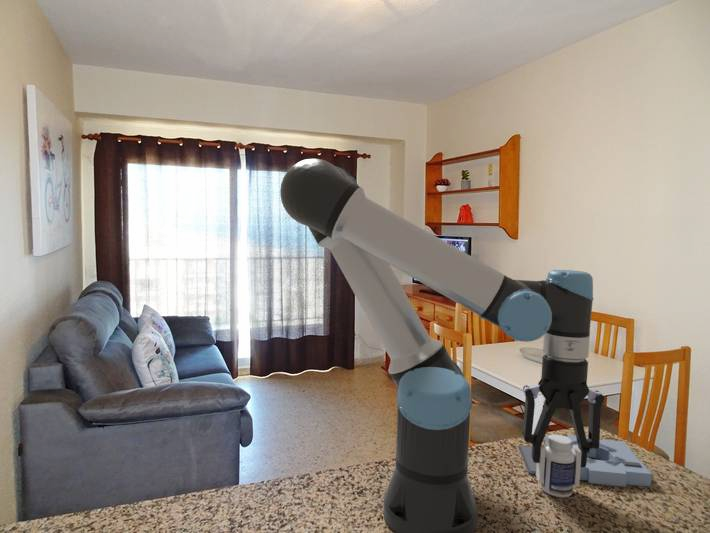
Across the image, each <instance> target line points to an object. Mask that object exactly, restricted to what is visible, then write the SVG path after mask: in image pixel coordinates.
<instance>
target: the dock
mask: <svg viewBox="0 0 710 533" xmlns="http://www.w3.org/2000/svg"><path fill="white" fill-rule="evenodd" d="M550 435H551V434H545V438H544V440H545V442H544V443H545V444H544V446H545V447H547V446H548V437H549V436H550ZM564 436H565V435H564ZM565 437H568V438H569V439H571V441H572V447H571V451H573V445H577V446H578V443H577V439H576V434H574V435H573V434H567V435H566V436H565ZM586 439H588V436H586ZM592 458H593V459H592ZM652 479H653V473H652V472H651V471H650V470H649V468H648V467H646V465H645V464H644V463H643V462H642V461H641V459H639V458H638V456H637V455H636V454H635V453H634V451H633V450H632V449H631V448H630V447H629V446H628V445H627V444H626V443H625V441H622V440H621V441H620V440H610V439H600V444H599V448H598V449H594V448H592V449H590V451H589V453H587V463H586V467H581V468H580V481H587V482H588V484H595V485H604V486H605V485H606V486H613V487H614V486H616V487H625V488H626V486H628V485H630V486H631V485H632V486H640V487H641V486H642V487H648V488H651V487H652Z"/></svg>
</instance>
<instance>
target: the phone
mask: <svg viewBox="0 0 710 533" xmlns="http://www.w3.org/2000/svg"><path fill="white" fill-rule="evenodd" d="M517 447H518V451H519V453H520V455H521V458H522V461H523V463H524V464H523V465H525V469H526V471H527V474H528V475H529V476H536V468H537V463H534V461H533V459H532V445H531V446H529V445H522V444H521V445H517Z"/></svg>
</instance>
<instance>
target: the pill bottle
mask: <svg viewBox="0 0 710 533" xmlns="http://www.w3.org/2000/svg"><path fill="white" fill-rule="evenodd" d="M549 435H550V436H549V437H548V446H547V447H546V446H545V448H546V450H545V466H544V482H543V483H540V484H541V485H540V486H541V489H542V490H543V491H544V492H545V493H546V494H548V495H550V496H553V497H556V498H568V497H570V496H572V494H573V490H574V489H573V488H574V484H573V479H574V464H575V455H574V453H573V452H572V451H571V447H572V441H571V439H569V438H568V437H567V436H566V437H565V435H561V434H549Z"/></svg>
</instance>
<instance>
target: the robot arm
mask: <svg viewBox="0 0 710 533" xmlns="http://www.w3.org/2000/svg"><path fill="white" fill-rule="evenodd" d="M279 192H280V194H279V195H280V200H281V204H282V206H283V209H284V210H285V211H286V213H287V215H289V217H290V218H291V219H293V220H294V221H296V222H297V223H299V224H301V225H303V226H305V227H308V229H309V231H310V233H311V234H312V237H313V238H314V240H315V242H316V243H317V245H318V246H319V247H322V248H325V249H328V251H330V252H331V254H332V256H333V257H334V260H335V261H336V263H337V265H338V266H339V267H338V268H339V269H340V270H341V272H342V274H343V276H344V277H345V279H346V281H347V283H348V285H349V287H350V288H351V291H352V292H353V294H354V296H355V297H356V299H357V301H358V303H359V304H360V306H361V308H362V310H363V312H364V313H365V315H366V317H367V319H368V321H369V323H370V324H371V326H372V328H373V330H374V332H375V334H376V335H377V337H378V339H379V341H380V343H381V345H382V346H383V348H384V349H385V351H386V353H387V355H388V356H389V358H390V362H389V367H388V374H389V375H390V377H391V379H392V381H393V382H394V384H395V387H396V388H397V391H396V403H397V409H396V410H397V414H396V415H397V416H396V438H395V439H396V442H395V444H396V445H395V466H394V470H393V473H392V476H391V479H390V481H389V484H388V486H387V489H386V491H385V494H384V497H383V509H382V515H383V518H384V521H385V523H386V525H387V526H388V527H389V528H390V529H391V530H392V531H393V532H394V533H474V532H475V530H476V528H477V518H478V516H477V513H478V512H477V511H478V510H477V505H476V503H475V502H476V501H475V498H474V494H473V490H472V487H471V483H470V480H469V476H468V470H469V469H468V465H469V450H470V449H469V447H470V444H469V443H470V425H471V410H472V407H473V397H472V391H471V390H472V389H471V386H470V383H469V381H468V380H467V379H466V377H465V375H464V373H463V370H462V369H461V367H460V366H459V365H458V364H457V363H456V362H455V361H454V360H453V358H451V356H450V354H449V352H448V350H447V348H446V347H445V345H444V343H443V342H442V341H441V340H438V339H435V338H433V337H431V336H430V335H429V333H428V331H427V329H426V327H425V325H424V324H423V322H422V321H421V318H420V316H419V315H418V312H416V310H415V308H414V306H413V304H412V302H411V300H410V299H409V297H408V295H407V294H406V291H405V290H404V288H403V286H402V284H401V282H400V281H399V279H398V277H397V276H396V273H395V271H394V270H393V268H395V269H397V270H399V271H401V272H402V273H403V274H405V275H408V276H409V277H411V278H413V279H414V280H417V281H418V282H419V283H421V284H423V285H424V286H427V287H429V288H431V289H432V290H433V291H435V292H437V293H439V294H441V295H443V296H444V297H446V298H448V299H450V300H451V301H452V302H455V303H457V304H458V305H460V306H462V307H463V308H465V309H467V310H469V311H471V312H472V313H475V314H476V315H477V316H478V317H479V319H481V320H486V321H488V322H489V323H491V324H493V325H495V326H496V327H498V328H499V329H501V331H502V332H503V333H504V334H505V335H507V336H508V337H510V338H511V339H513V340H516V341H519V342H524V343H528V342H534V341H537V340H539V339H540V338H542V337H543V346H542V348H543V349H542V352H543V354H544V355H543V356H542V358H541V360H542V362H541V375H540V377H541V378H540V380H539V381H538V384H536V385H532V386H528V385H524V386H523V387H522V388H523V389H522V391H523V393H524V397H525V402H524V410H523V421H522V431H521V434H522V437H523V440H524V442H525V443H527V444H531V446H532V459H533V461H534V463H537V468H536V475H535V476H536V478H537V482H538V483H540V484H541V483H543V482H544V466H545V450H546V448H545V447H546V446H545V444H544V443H543V442H544V440H545V438H546V435H547V434H546V433H547V431H548V428H549V425H550V424H551V421H552V418H553V415H554V414H555V413H556V410H559V409H566V410H569V412H570V417H571V421H572V425H573V429H574V430H573V431H574V433H575V434H574V435H575V436H576V439H577V443H578V446H577V445H573V451H572V452H573V453H574V455H575V464H574V479H573V487H575V488H576V487H577V488H580V483H581V482H580V481H581V480H580V468H581V467H586V463H587V453H589V451H590V449H592V448H594V449H598V448H599V444H600V440H601V435H600V434H601V411H602V410H601V409H602V406H603V405H604V401H605V396H604V395H603V394H602V393H601V392H600V391H599V390H593V389H590V388H589V386H588V383H587V382H588V371H589V361H588V360H587V358H589V355H590V354H589V352H590V351H589V350H590V337H591V336H590V334H591V324H592V323H591V321H592V310H593V303H594V297H593V296H594V279H593V276H592V275H591V273H589V272H587V271H581V270H571V269H551V270H549V271H548V272H547V275H546V276H547V277H546V278H545V280H543V279H542V280H525V279H524V280H523V279H513V278H511V277H508V276H507V275H506V274H503V273H501V272H500V271H498V270H496V269H495V268H493V267H491V266H489V265H487V264H486V263H484V262H482V261H480V260H479V259H477V258H475V257H473V255H472V256H471V255H470V254H468V253H466V252H464V251H463V250H461V249H459V248H457V247H455V246H454V245H452V244H450V243H448V242H446V241H445V240H443V239H442V238H439V237H437V236H436V235H434V234H432V233H431V232H428V231H426V230H425V229H423V228H422V227H420V226H418V225H417V224H414V223H413V222H411V221H410V220H407V219H406V218H404V217H402V216H400V215H398V214H397V213H395V212H393V211H391V210H390V209H387V208H386V207H385V206H382V205H381V204H379V203H377V202H376V201H373V200H372V199H370V198H368V197H367V196H366V194H365V190H364V188H363V187H361V186H359V184H358V182H357V181H356V179H355V177H353V176H352V175H351V174H350V173H349V172H348V171H346V170H345V169H343V168H342V167H339V166H335V164H333V163H331V162H329V161H327V160H325V159H320V158H307V159H303V160H300V161H298V162H297V163H295V164H294V165H292V166H291V167H290V168H289V169H288V170H287V171H286V173H285V174H284V176H283V178H282V180H281V184H280V191H279ZM392 267H393V268H392ZM539 393H541V394H542V396H543V398H544V401H543V406H542V409H541V413H540V416H539V418H538V419H537V420H538V421H537V423H536V426H535V428H534V430H533V427H534V415H535V407H536V402H535V399H537V398H538V395H539ZM585 398H587V400H588V425H587V426H588V428H587V429H588V430H587V431H588V432H587V434H588V435H587V436H586V431H585V427H584V423H583V420H582V419H583V418H582V412H581V408H580V404H581V403H583V402H582V401H583V400H584V399H585ZM533 431H534V432H533ZM586 437H588V439H586Z"/></svg>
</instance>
